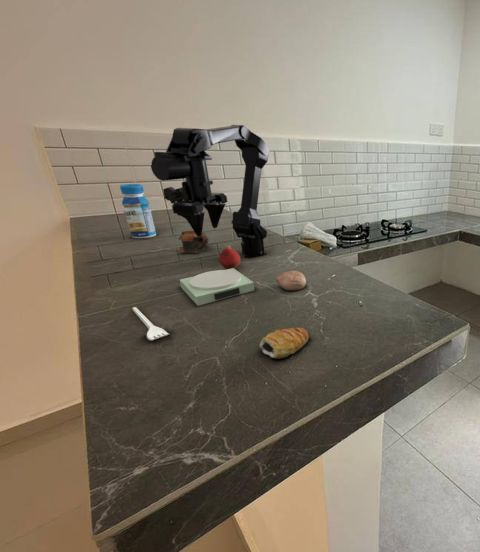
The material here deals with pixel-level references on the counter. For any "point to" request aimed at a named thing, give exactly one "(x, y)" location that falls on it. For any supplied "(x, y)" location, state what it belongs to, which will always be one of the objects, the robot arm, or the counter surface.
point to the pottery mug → (192, 242)
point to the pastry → (284, 342)
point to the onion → (229, 258)
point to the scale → (216, 285)
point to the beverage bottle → (137, 211)
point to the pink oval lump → (291, 280)
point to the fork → (150, 327)
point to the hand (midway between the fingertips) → (207, 231)
